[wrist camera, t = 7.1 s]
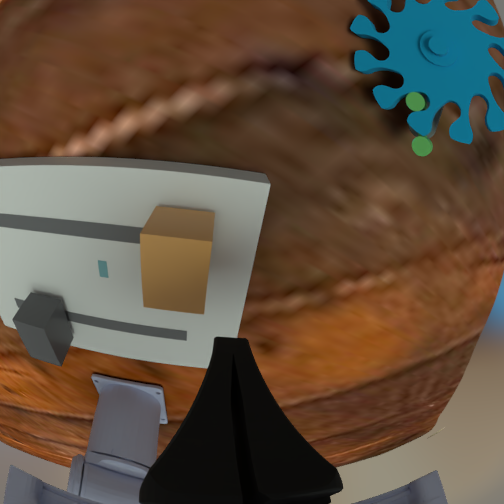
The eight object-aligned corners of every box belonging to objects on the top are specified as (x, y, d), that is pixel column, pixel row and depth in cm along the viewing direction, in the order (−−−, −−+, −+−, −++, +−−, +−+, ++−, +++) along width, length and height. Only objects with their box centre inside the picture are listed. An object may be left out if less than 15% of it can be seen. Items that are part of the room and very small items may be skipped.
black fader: (73, 337, 18) (61, 366, 15) (44, 329, 17) (30, 356, 15) (61, 299, 16) (43, 329, 13) (30, 292, 15) (12, 319, 13)
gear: (360, -45, 7) (536, 17, 3) (389, -6, 11) (519, 47, 6) (323, 114, 14) (490, 202, 9) (358, 118, 18) (481, 183, 13)
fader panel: (229, 351, 23) (229, 370, 21) (13, 311, 19) (4, 325, 17) (265, 173, 15) (270, 184, 14) (-23, 161, 12) (-40, 169, 10)
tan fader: (206, 277, 16) (204, 314, 13) (155, 271, 15) (143, 307, 13) (215, 212, 14) (212, 241, 11) (156, 206, 13) (139, 233, 11)
